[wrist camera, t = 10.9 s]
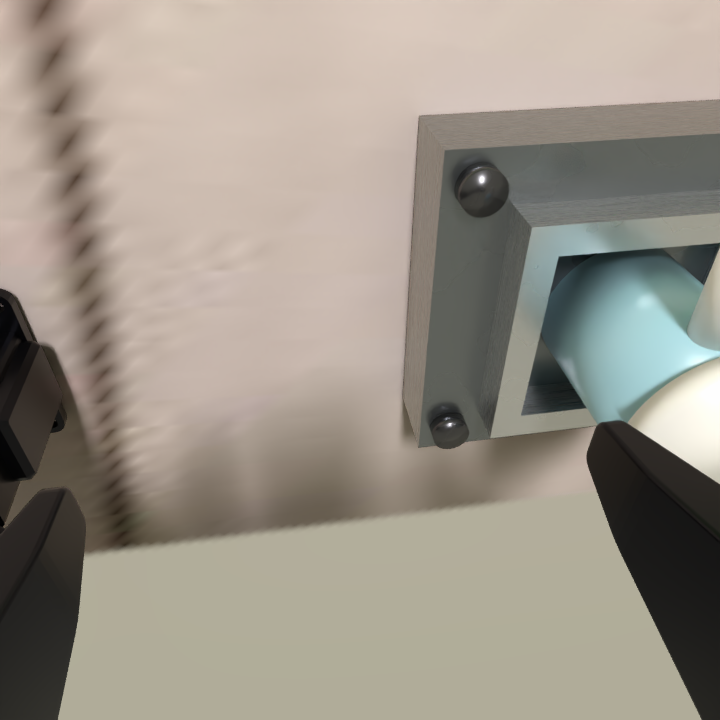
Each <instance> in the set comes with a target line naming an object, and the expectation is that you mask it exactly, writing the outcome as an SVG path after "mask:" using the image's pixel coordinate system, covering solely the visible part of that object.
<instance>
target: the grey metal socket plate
mask: <svg viewBox="0 0 720 720" xmlns="http://www.w3.org/2000/svg"><path fill="white" fill-rule="evenodd" d="M654 248H660V249H662V250H664V251H665V252H667V253H668V254H669V255H670V256H671V257H673V258H674V259H675V260H676V261H677V262H678V263H679V264H680V265H682V266H683V267H684V268H685V269H686V270H687V271H688V272H689V273H691V274H692V275H693V276H694V277H695V278H696V279H697V280H698V281H700V282H701V283H702V284H703V285H705V282H706V280H707V277H708V275H709V273H710V270H711V268H712V265H713V263H714V260H715V258H716V256H717V253H718V251H719V248H720V100H706V101H687V102H668V103H649V104H631V105H612V106H593V107H574V108H556V109H537V110H518V111H499V112H481V113H462V114H443V115H424V116H419V129H418V146H417V163H416V180H415V197H414V214H413V231H412V248H411V265H410V282H409V299H408V316H407V333H406V350H405V367H404V384H403V400H404V403H405V406H406V409H407V412H408V416H409V419H410V422H411V425H412V429H413V432H414V435H415V438H416V441H417V445H418V448H419V447H427V446H436V445H437V446H438V447H440V448H443V449H451V448H455V447H458V446H460V445H461V444H463V443H464V442H469V441H477V440H485V439H493V438H502V437H510V436H518V435H527V434H535V433H543V432H551V431H560V430H568V429H576V428H585V427H593V426H597V425H598V424H597V423H596V421H595V420H594V418H593V417H592V415H591V414H590V412H589V411H588V409H587V408H586V406H585V404H584V403H583V401H582V400H581V398H580V397H579V395H578V394H577V392H576V391H575V389H574V387H573V386H572V384H571V383H570V381H569V380H568V378H567V377H566V375H565V374H564V372H563V371H562V369H561V367H560V366H559V364H558V363H557V361H556V360H555V358H554V357H553V355H552V354H551V352H550V350H549V349H548V347H547V346H546V344H545V342H544V340H543V338H542V333H541V329H542V325H543V320H544V316H545V312H546V308H547V304H548V299H549V297H550V295H551V293H552V292H553V290H554V289H555V288H556V286H557V285H558V284H559V283H560V281H561V280H562V279H563V278H564V277H565V276H566V275H567V274H568V273H569V272H570V271H571V270H573V269H574V268H575V267H576V266H578V265H579V264H580V263H582V262H583V261H585V260H587V259H588V258H590V257H592V256H594V255H596V254H598V253H606V252H618V251H630V250H642V249H654Z"/></svg>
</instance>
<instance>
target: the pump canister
mask: <svg viewBox="0 0 720 720" xmlns="http://www.w3.org/2000/svg"><path fill="white" fill-rule="evenodd" d="M541 333H542V338H543V340H544V342H545V344H546V346H547V347H548V349H549V350H550V352H551V354H552V355H553V357H554V358H555V360H556V361H557V363H558V364H559V366H560V367H561V369H562V371H563V372H564V374H565V375H566V377H567V378H568V380H569V381H570V383H571V384H572V386H573V387H574V389H575V391H576V392H577V394H578V395H579V397H580V398H581V400H582V401H583V403H584V404H585V406H586V408H587V409H588V411H589V412H590V414H591V415H592V417H593V418H594V420H595V421H596V423H597V424H599V423H601V422H605V421H614V420H622V421H624V422H626V423H628V424H629V425H631V426H633V427H634V428H636V429H637V430H639V431H640V432H642V433H643V434H645V435H646V436H648V437H649V438H651V439H652V440H654V441H655V442H657V443H658V444H660V445H661V446H663V447H664V448H666V449H667V450H669V451H670V452H672V453H674V454H675V455H677V456H678V457H680V458H681V459H683V460H684V461H686V462H687V463H689V464H690V465H692V466H693V467H695V468H696V469H698V470H699V471H701V472H702V473H704V474H705V475H707V476H708V477H710V478H711V479H713V480H715V481H716V482H718V483H719V484H720V248H719V251H718V253H717V256H716V258H715V260H714V263H713V265H712V268H711V270H710V273H709V275H708V277H707V280H706V282H705V285H703V284H702V283H701V282H700V281H698V280H697V279H696V278H695V277H694V276H693V275H692V274H691V273H689V272H688V271H687V270H686V269H685V268H684V267H683V266H682V265H680V264H679V263H678V262H677V261H676V260H675V259H674V258H673V257H671V256H670V255H669V254H668V253H667V252H665V251H664V250H662V249H660V248H654V249H642V250H630V251H618V252H606V253H598V254H596V255H594V256H592V257H590V258H588V259H587V260H585V261H583V262H582V263H580V264H579V265H578V266H576V267H575V268H574V269H573V270H571V271H570V272H569V273H568V274H567V275H566V276H565V277H564V278H563V279H562V280H561V281H560V283H559V284H558V285H557V286H556V288H555V289H554V290H553V292H552V293H551V295H550V297H549V299H548V304H547V308H546V312H545V316H544V320H543V325H542V329H541Z"/></svg>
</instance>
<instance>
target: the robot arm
mask: <svg viewBox="0 0 720 720" xmlns="http://www.w3.org/2000/svg"><path fill="white" fill-rule="evenodd" d="M0 303H1V304H2V305H3V307H0V720H58V715H59V710H60V706H61V701H62V696H63V691H64V686H65V682H66V677H67V672H68V667H69V662H70V658H71V653H72V648H73V643H74V638H75V633H76V628H77V622H78V614H79V605H80V593H81V581H82V569H83V559H84V548H85V536H86V522H85V517H84V515H83V513H82V511H81V509H80V507H79V505H78V503H77V501H76V499H75V497H74V495H73V493H72V491H71V490H70V489H69V488H68V487H55V488H47V489H43V490H41V491H39V492H38V493H37V494H36V495H35V496H34V497H33V498H32V499H31V500H30V501H29V503H28V504H27V505H26V506H25V507H24V508H23V509H22V510H21V512H20V513H19V514H18V515H17V516H16V517H15V518H14V519H13V521H12V522H11V523H10V524H9V525H8V526H7V527H6V528H3V526H4V525H5V522H6V519H7V516H8V513H9V511H10V508H11V505H12V502H13V500H14V497H15V494H16V491H17V489H18V486H19V483H20V481H22V480H30V479H32V477H33V476H34V475H35V474H36V473H37V470H38V467H39V464H40V461H41V458H42V455H43V452H44V450H45V447H46V444H47V441H48V438H49V435H50V433H53V432H58V431H61V430H62V429H63V428H64V426H65V423H66V420H67V415H66V413H65V410H64V408H63V406H62V404H61V399H62V396H63V395H62V392H61V390H60V387H59V385H58V383H57V380H56V378H55V376H54V374H53V371H52V369H51V367H50V364H49V362H48V360H47V358H46V355H45V353H44V351H43V349H42V346H41V345H39V344H38V343H37V342H36V341H33V339H32V336H31V334H30V332H29V330H28V327H27V325H26V323H25V321H24V318H23V316H22V314H21V312H20V310H19V307H18V305H17V303H16V301H15V299H14V297H13V296H12V294H10V293H9V292H7V291H6V290H3V289H0ZM54 420H56V421H54ZM587 464H588V468H589V471H590V473H591V476H592V479H593V482H594V484H595V487H596V490H597V493H598V496H599V498H600V501H601V504H602V507H603V510H604V512H605V515H606V518H607V521H608V523H609V526H610V529H611V532H612V534H613V537H614V539H615V542H616V544H617V546H618V548H619V551H620V553H621V555H622V557H623V559H624V561H625V563H626V565H627V567H628V569H629V571H630V573H631V575H632V577H633V579H634V582H635V583H636V586H637V588H638V590H639V592H640V594H641V596H642V598H643V600H644V602H645V604H646V606H647V608H648V610H649V612H650V614H651V616H652V618H653V621H654V622H655V625H656V627H657V629H658V631H659V633H660V635H661V637H662V639H663V641H664V643H665V645H666V647H667V649H668V651H669V653H670V655H671V657H672V660H673V662H674V664H675V666H676V668H677V670H678V672H679V674H680V676H681V678H682V680H683V682H684V684H685V686H686V688H687V690H688V692H689V694H690V696H691V699H692V701H693V702H694V705H695V707H696V708H697V711H698V713H699V715H700V717H701V719H702V720H720V484H719V483H718V482H716V481H715V480H713V479H711V478H710V477H708V476H707V475H705V474H704V473H702V472H701V471H699V470H698V469H696V468H695V467H693V466H692V465H690V464H689V463H687V462H686V461H684V460H683V459H681V458H680V457H678V456H677V455H675V454H674V453H672V452H670V451H669V450H667V449H666V448H664V447H663V446H661V445H660V444H658V443H657V442H655V441H654V440H652V439H651V438H649V437H648V436H646V435H645V434H643V433H642V432H640V431H639V430H637V429H636V428H634V427H633V426H631V425H629V424H628V423H626V422H624V421H622V420H614V421H605V422H601V423H599V424H598V425H597V426H596V428H595V431H594V434H593V437H592V440H591V442H590V445H589V448H588V451H587Z"/></svg>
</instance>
